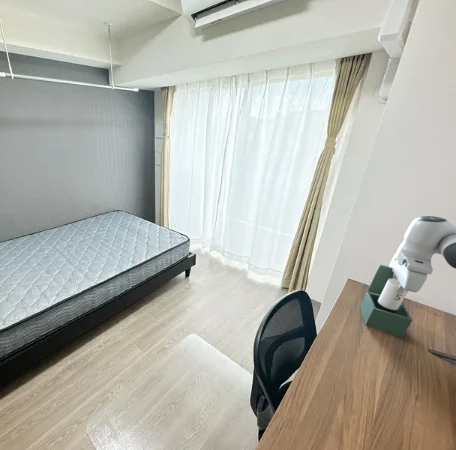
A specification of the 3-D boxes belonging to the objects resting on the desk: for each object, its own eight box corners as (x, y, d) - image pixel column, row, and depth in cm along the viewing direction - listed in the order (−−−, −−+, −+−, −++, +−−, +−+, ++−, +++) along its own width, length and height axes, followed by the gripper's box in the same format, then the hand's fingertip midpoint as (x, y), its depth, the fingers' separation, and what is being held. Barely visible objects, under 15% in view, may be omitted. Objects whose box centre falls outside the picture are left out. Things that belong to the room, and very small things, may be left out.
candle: (382, 307, 97) (398, 276, 91) (375, 297, 103) (389, 267, 97) (401, 312, 95) (419, 280, 89) (393, 301, 101) (409, 271, 95)
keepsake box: (402, 337, 94) (412, 320, 91) (365, 325, 100) (373, 308, 96) (393, 317, 105) (401, 301, 101) (359, 307, 110) (367, 291, 106)
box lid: (417, 274, 95) (413, 268, 99) (380, 265, 100) (377, 260, 104) (402, 300, 101) (399, 294, 104) (367, 291, 106) (365, 285, 110)
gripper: (392, 245, 100) (379, 273, 106) (410, 267, 84) (393, 299, 89) (413, 249, 98) (398, 278, 103) (435, 273, 81) (416, 306, 86)
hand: (396, 288), depth 96 cm, fingers closed on candle, 4 cm apart
